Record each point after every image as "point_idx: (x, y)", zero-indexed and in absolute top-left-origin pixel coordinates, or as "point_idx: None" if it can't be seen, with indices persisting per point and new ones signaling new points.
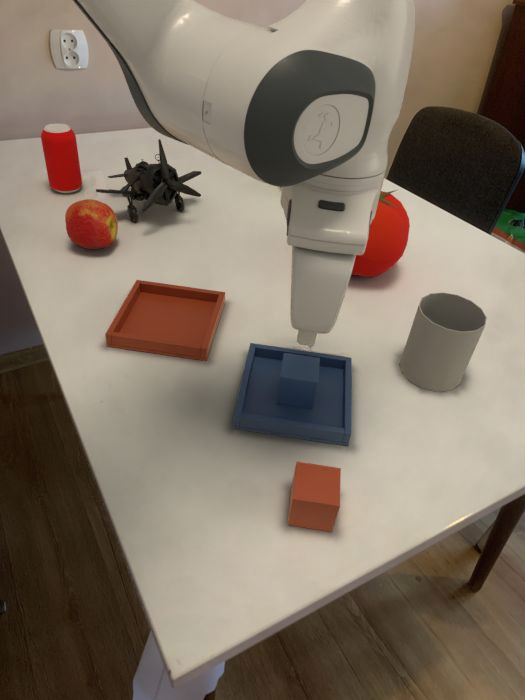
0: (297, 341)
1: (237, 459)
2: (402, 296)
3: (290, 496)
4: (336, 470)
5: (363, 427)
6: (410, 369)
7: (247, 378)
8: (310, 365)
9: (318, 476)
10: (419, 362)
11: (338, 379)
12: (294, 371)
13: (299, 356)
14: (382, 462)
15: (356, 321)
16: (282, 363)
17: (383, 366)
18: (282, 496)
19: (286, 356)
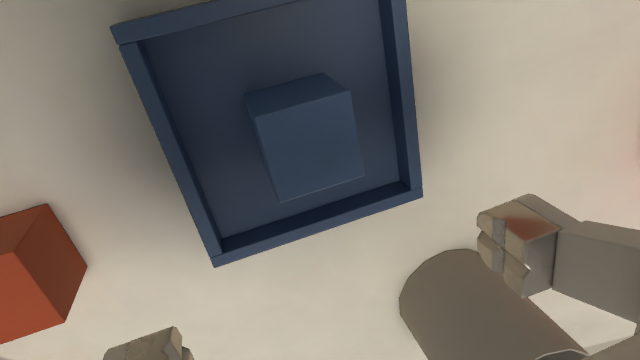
0: (105, 355)
1: (37, 74)
2: (627, 199)
3: (22, 211)
4: (53, 319)
5: (271, 253)
6: (426, 285)
7: (264, 6)
8: (329, 167)
9: (7, 301)
10: (431, 313)
11: (368, 181)
12: (290, 142)
13: (351, 132)
14: (209, 300)
15: (547, 150)
16: (307, 103)
17: (434, 231)
18: (15, 196)
19: (337, 102)
